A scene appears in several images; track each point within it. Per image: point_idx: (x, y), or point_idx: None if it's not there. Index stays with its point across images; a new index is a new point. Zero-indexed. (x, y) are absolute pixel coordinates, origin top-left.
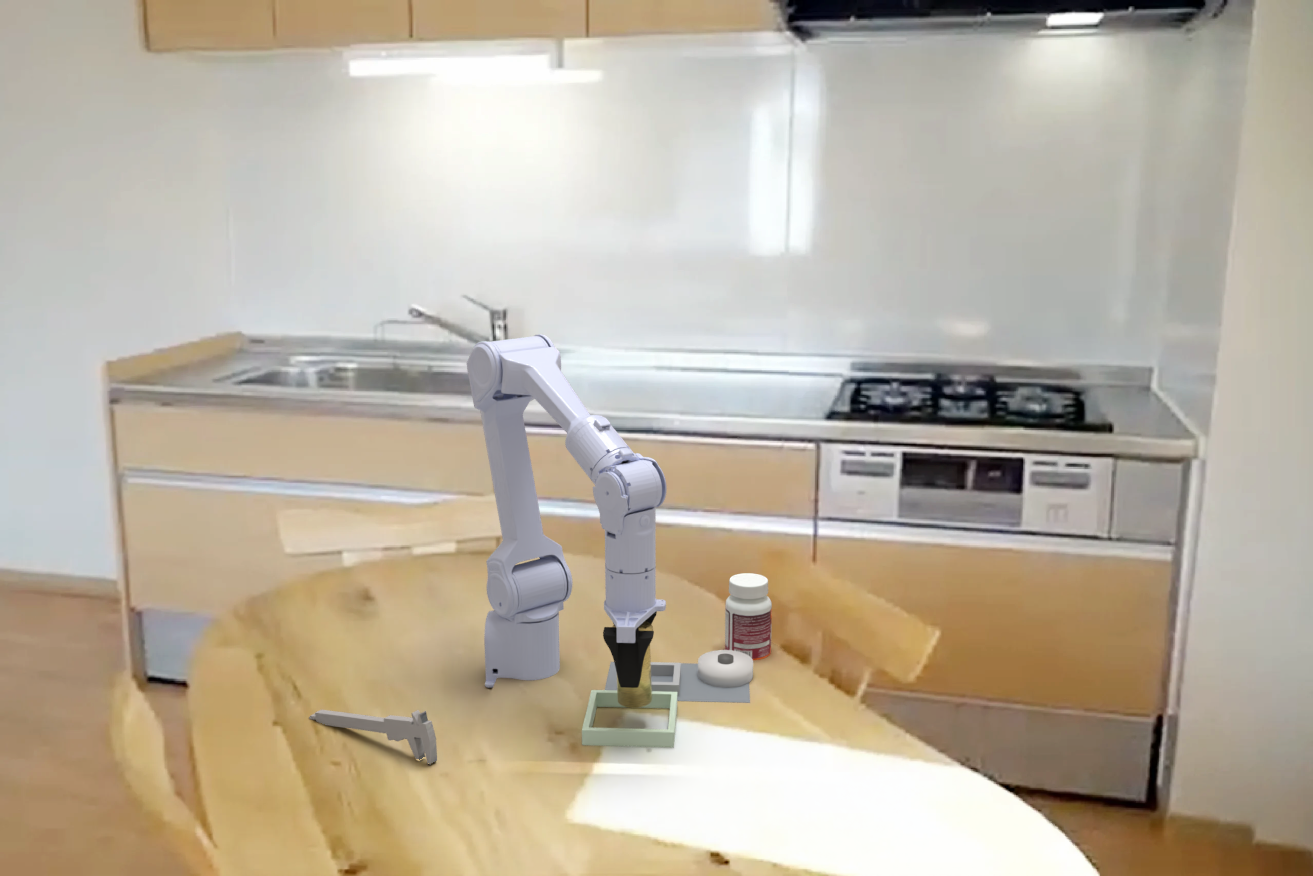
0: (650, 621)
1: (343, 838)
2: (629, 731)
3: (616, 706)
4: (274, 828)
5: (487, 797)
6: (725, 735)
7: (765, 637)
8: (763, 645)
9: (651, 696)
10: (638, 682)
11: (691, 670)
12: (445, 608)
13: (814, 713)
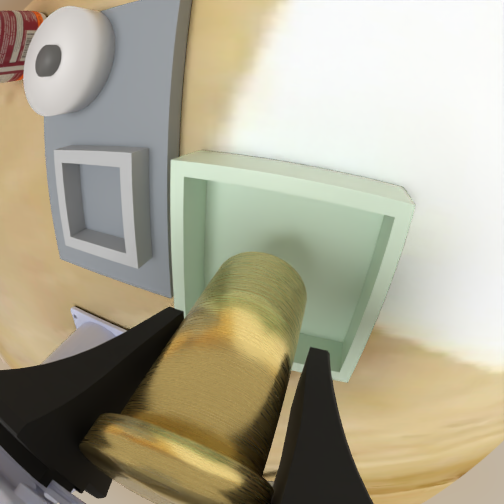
0: (60, 416)
1: (424, 484)
2: (380, 308)
3: (198, 282)
4: (389, 501)
5: (418, 433)
6: (306, 47)
7: (7, 13)
8: (19, 15)
9: (268, 261)
10: (329, 364)
11: (61, 126)
12: (34, 362)
13: None
